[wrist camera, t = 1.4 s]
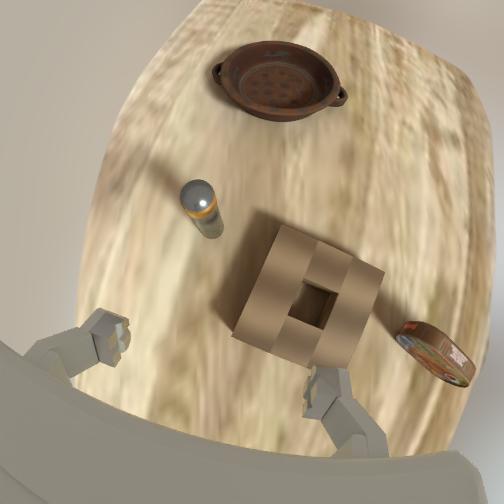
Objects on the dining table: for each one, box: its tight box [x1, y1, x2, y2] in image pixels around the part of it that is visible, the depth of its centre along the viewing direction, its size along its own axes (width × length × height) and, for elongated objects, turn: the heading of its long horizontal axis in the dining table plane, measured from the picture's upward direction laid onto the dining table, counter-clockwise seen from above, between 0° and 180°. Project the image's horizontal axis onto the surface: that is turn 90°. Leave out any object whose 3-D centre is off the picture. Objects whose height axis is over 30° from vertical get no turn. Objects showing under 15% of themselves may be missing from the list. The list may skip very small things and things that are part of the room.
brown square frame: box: [231, 224, 385, 369], centre depth 33 cm, size 14×14×4 cm
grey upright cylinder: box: [180, 180, 224, 239], centre depth 31 cm, size 3×3×12 cm
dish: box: [212, 41, 348, 122], centre depth 39 cm, size 18×22×5 cm
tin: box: [396, 321, 476, 388], centre depth 30 cm, size 15×3×8 cm, turn 51°
